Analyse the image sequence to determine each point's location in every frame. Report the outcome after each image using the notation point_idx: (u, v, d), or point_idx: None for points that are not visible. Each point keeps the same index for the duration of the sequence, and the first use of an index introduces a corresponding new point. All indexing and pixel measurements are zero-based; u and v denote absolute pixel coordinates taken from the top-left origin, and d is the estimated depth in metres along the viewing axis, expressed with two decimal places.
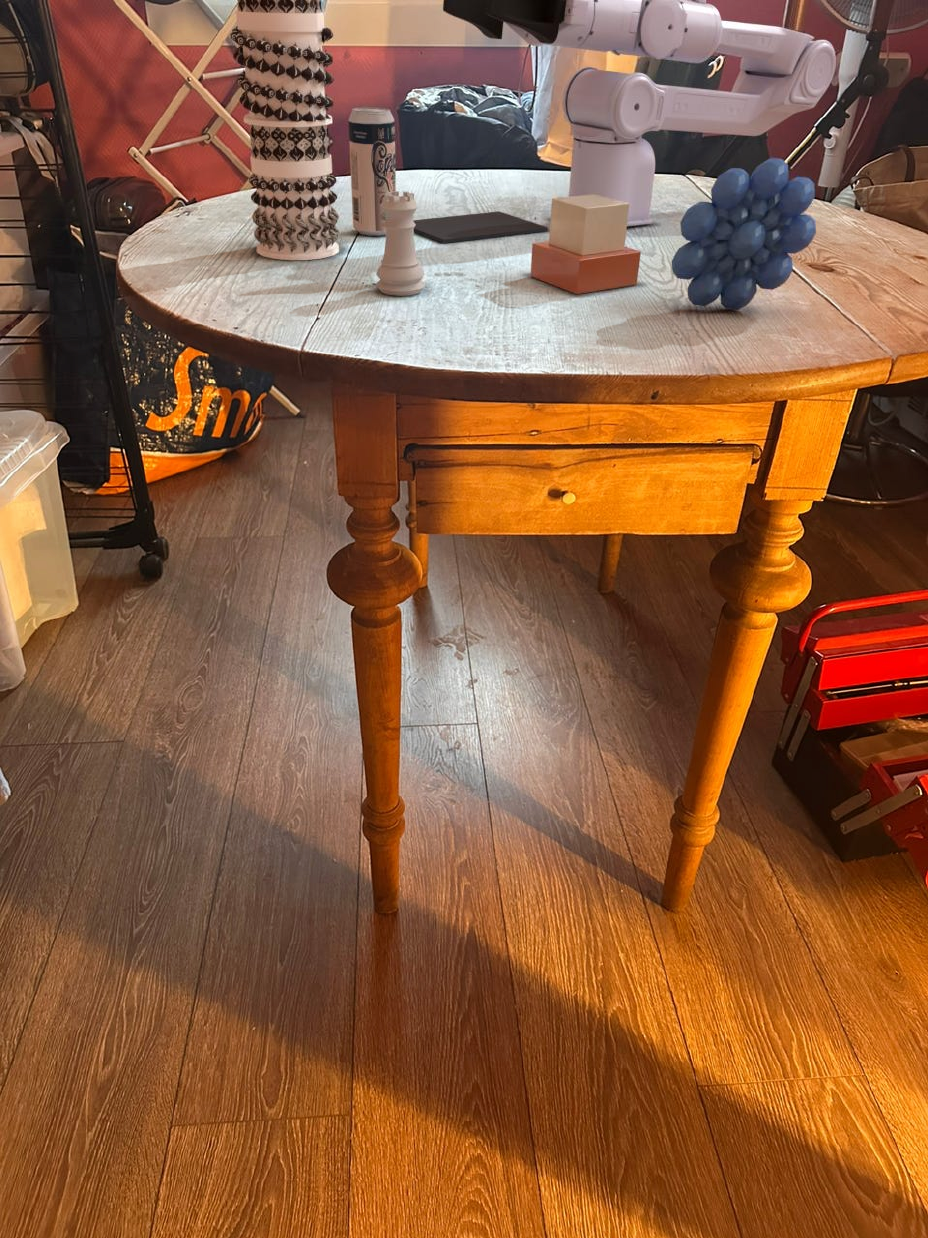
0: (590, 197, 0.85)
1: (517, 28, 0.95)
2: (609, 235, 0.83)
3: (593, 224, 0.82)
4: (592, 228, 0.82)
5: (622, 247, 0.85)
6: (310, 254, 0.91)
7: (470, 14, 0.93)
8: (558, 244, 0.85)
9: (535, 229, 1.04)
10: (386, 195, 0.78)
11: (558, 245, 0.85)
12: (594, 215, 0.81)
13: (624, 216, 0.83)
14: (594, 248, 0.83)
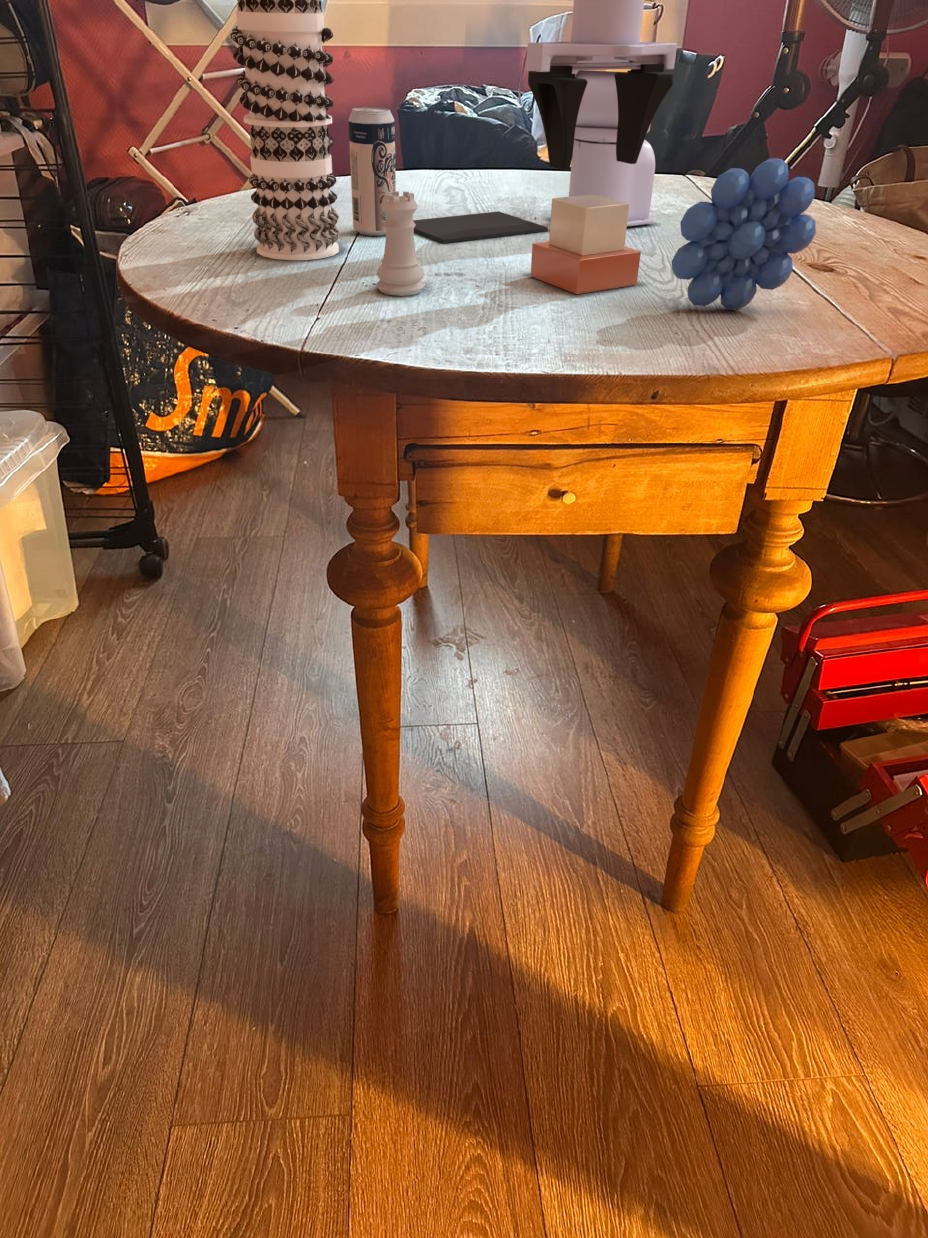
0: (590, 197, 0.85)
1: None
2: (609, 235, 0.83)
3: (593, 224, 0.82)
4: (592, 228, 0.82)
5: (622, 247, 0.85)
6: (310, 254, 0.91)
7: None
8: (558, 244, 0.85)
9: (535, 229, 1.04)
10: (386, 195, 0.78)
11: (558, 245, 0.85)
12: (594, 215, 0.81)
13: (624, 216, 0.83)
14: (594, 248, 0.83)
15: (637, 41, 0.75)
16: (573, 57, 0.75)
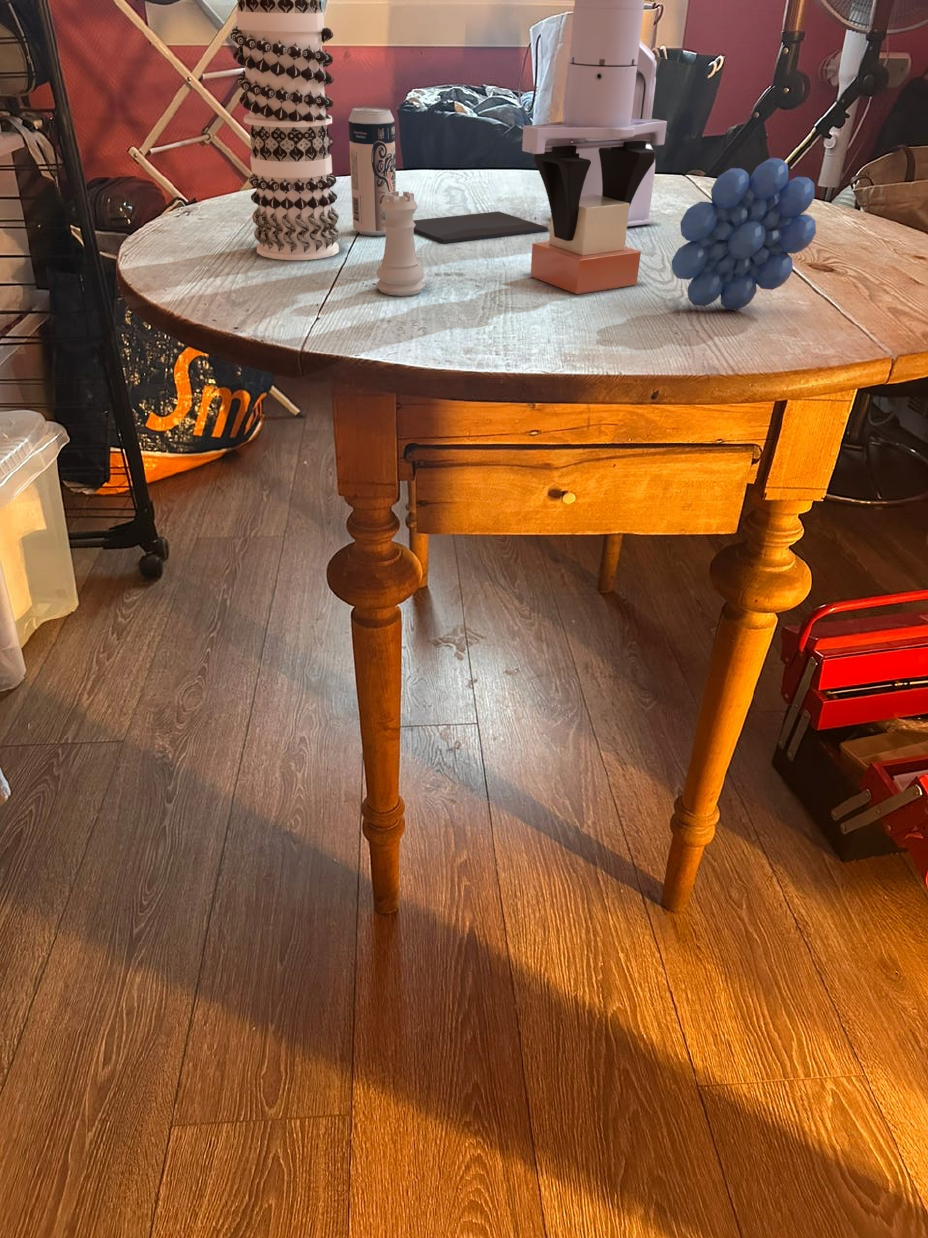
0: (590, 197, 0.85)
1: None
2: (609, 235, 0.83)
3: (593, 224, 0.82)
4: (593, 228, 0.82)
5: (622, 247, 0.85)
6: (310, 254, 0.91)
7: None
8: (558, 244, 0.85)
9: (535, 229, 1.04)
10: (386, 195, 0.78)
11: (558, 245, 0.85)
12: (594, 215, 0.81)
13: (624, 216, 0.83)
14: (594, 248, 0.83)
15: (628, 123, 0.79)
16: (567, 138, 0.79)
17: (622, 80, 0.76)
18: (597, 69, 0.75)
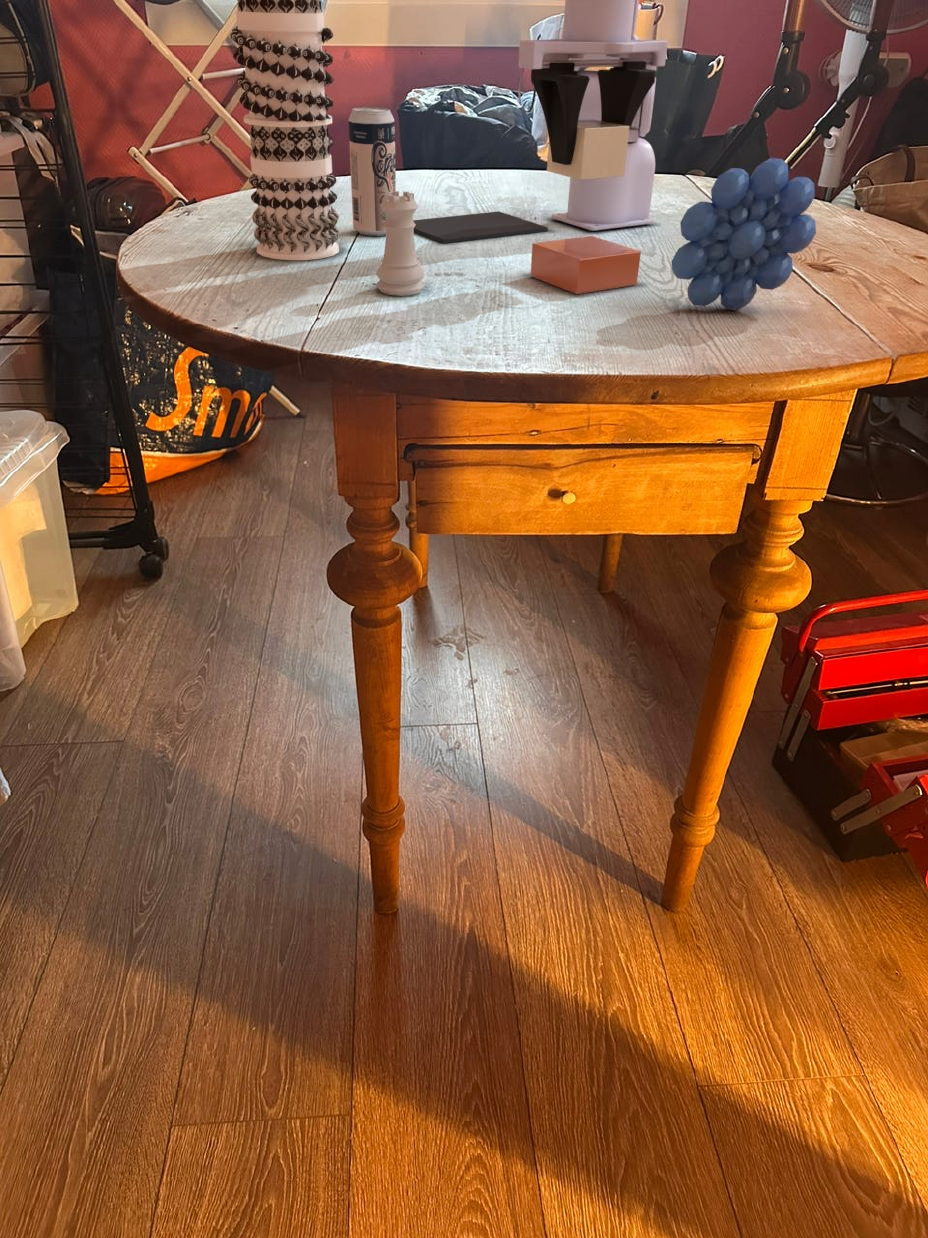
0: (589, 121, 0.82)
1: None
2: (608, 160, 0.81)
3: (592, 146, 0.79)
4: (591, 151, 0.80)
5: (622, 173, 0.82)
6: (310, 254, 0.91)
7: None
8: (556, 170, 0.83)
9: (535, 229, 1.04)
10: (386, 195, 0.78)
11: (556, 171, 0.83)
12: (593, 137, 0.79)
13: (624, 139, 0.81)
14: (593, 172, 0.81)
15: (628, 39, 0.76)
16: (565, 54, 0.76)
17: None
18: None
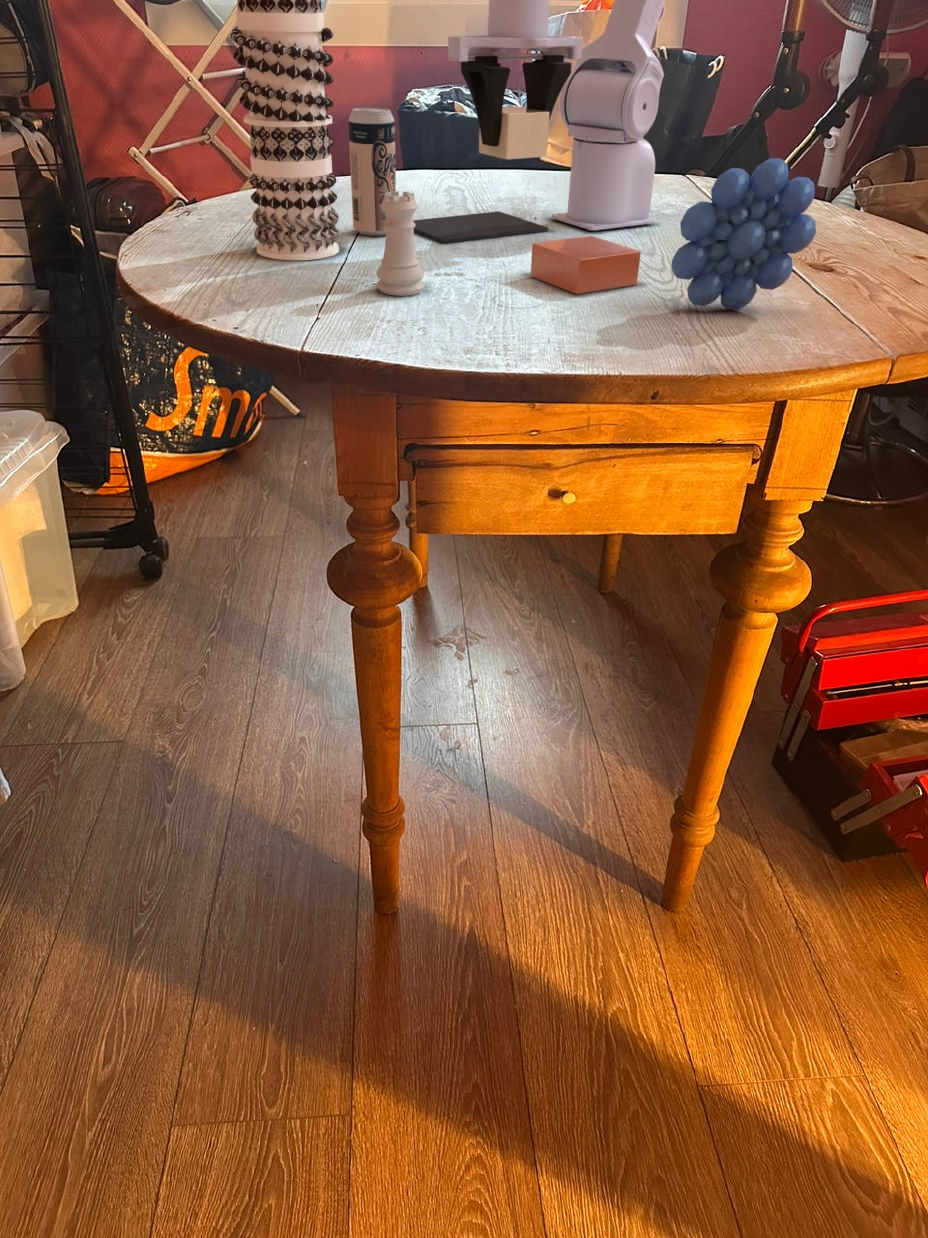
0: (515, 108, 0.93)
1: None
2: (531, 142, 0.92)
3: (516, 129, 0.90)
4: (515, 134, 0.90)
5: (544, 153, 0.93)
6: (310, 254, 0.91)
7: None
8: (486, 151, 0.93)
9: (535, 229, 1.04)
10: (386, 195, 0.78)
11: (486, 152, 0.93)
12: (516, 121, 0.90)
13: (545, 124, 0.92)
14: (518, 153, 0.91)
15: (544, 35, 0.87)
16: (489, 48, 0.87)
17: None
18: None
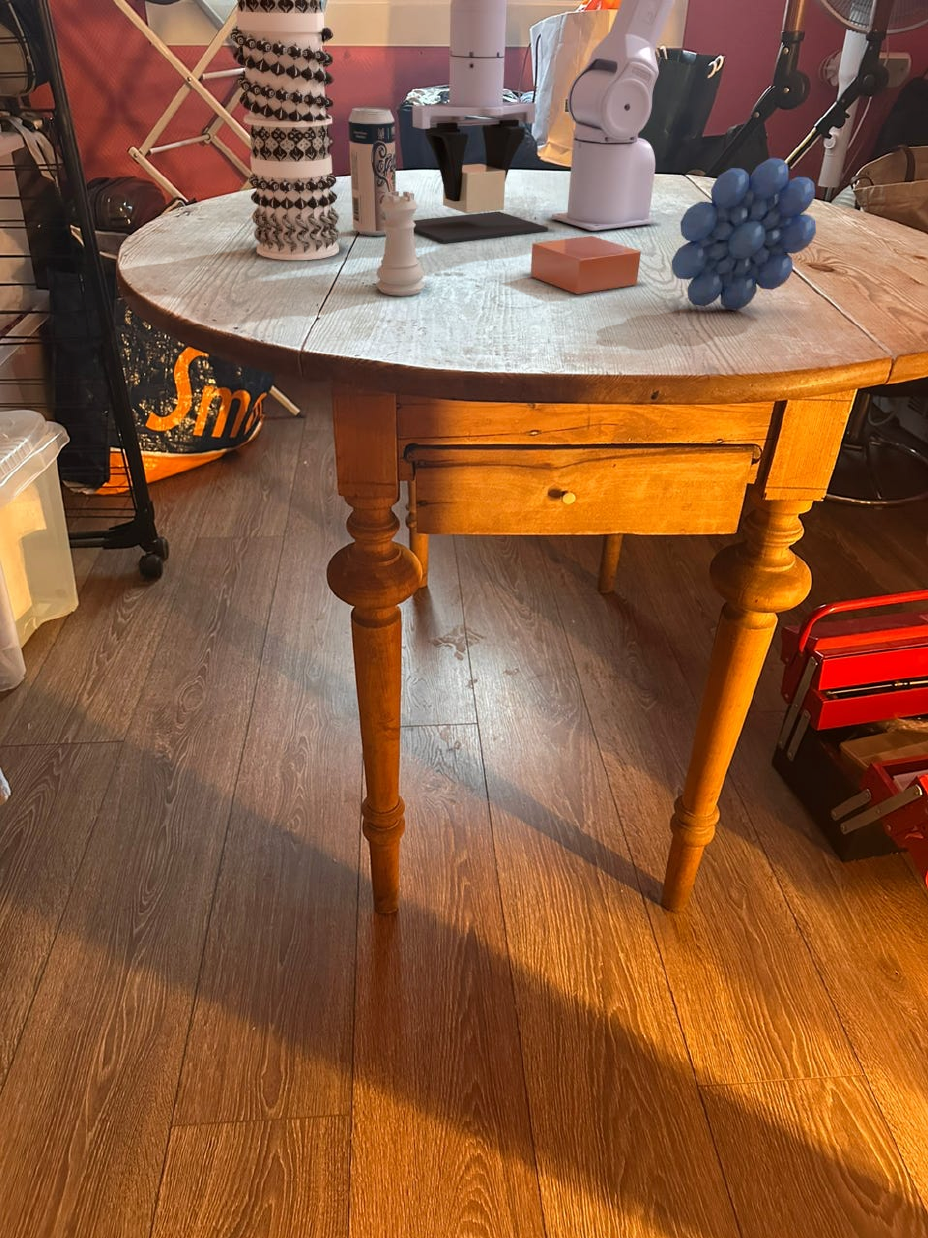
0: (475, 166, 1.03)
1: None
2: (489, 197, 1.02)
3: (474, 187, 1.00)
4: (474, 190, 1.00)
5: (502, 207, 1.03)
6: (310, 254, 0.91)
7: None
8: (449, 204, 1.03)
9: (535, 229, 1.04)
10: (386, 195, 0.78)
11: (449, 205, 1.03)
12: (475, 179, 1.00)
13: (501, 181, 1.02)
14: (477, 207, 1.01)
15: (499, 104, 0.97)
16: (449, 116, 0.97)
17: (490, 69, 0.94)
18: (469, 60, 0.94)
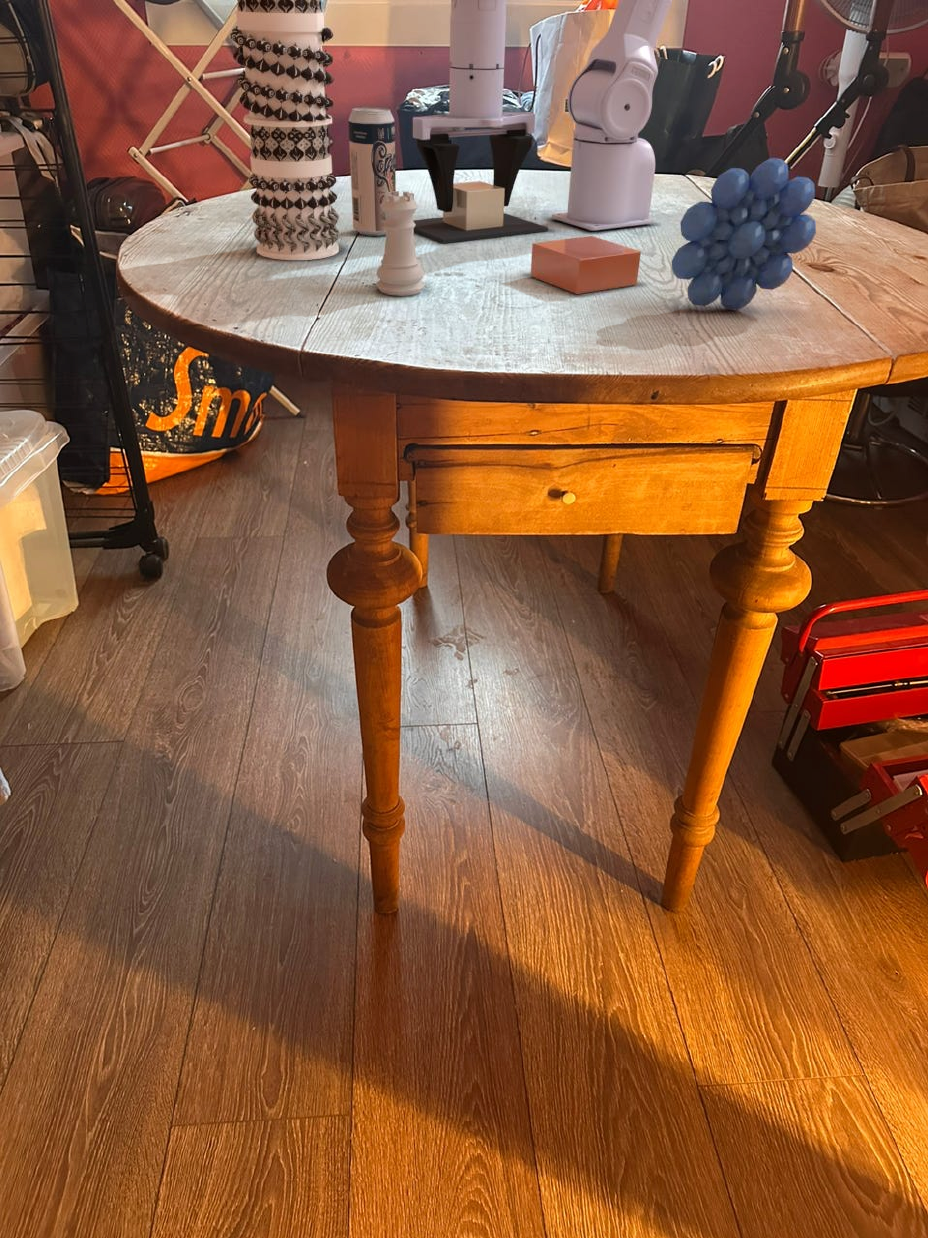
0: (475, 183, 1.04)
1: None
2: (489, 214, 1.03)
3: (474, 204, 1.01)
4: (474, 208, 1.01)
5: (501, 224, 1.04)
6: (310, 254, 0.91)
7: None
8: (449, 222, 1.04)
9: (535, 229, 1.04)
10: (386, 195, 0.78)
11: (449, 222, 1.04)
12: (474, 197, 1.01)
13: (501, 198, 1.03)
14: (476, 224, 1.03)
15: (499, 115, 0.98)
16: (449, 127, 0.98)
17: (490, 80, 0.95)
18: (469, 71, 0.94)
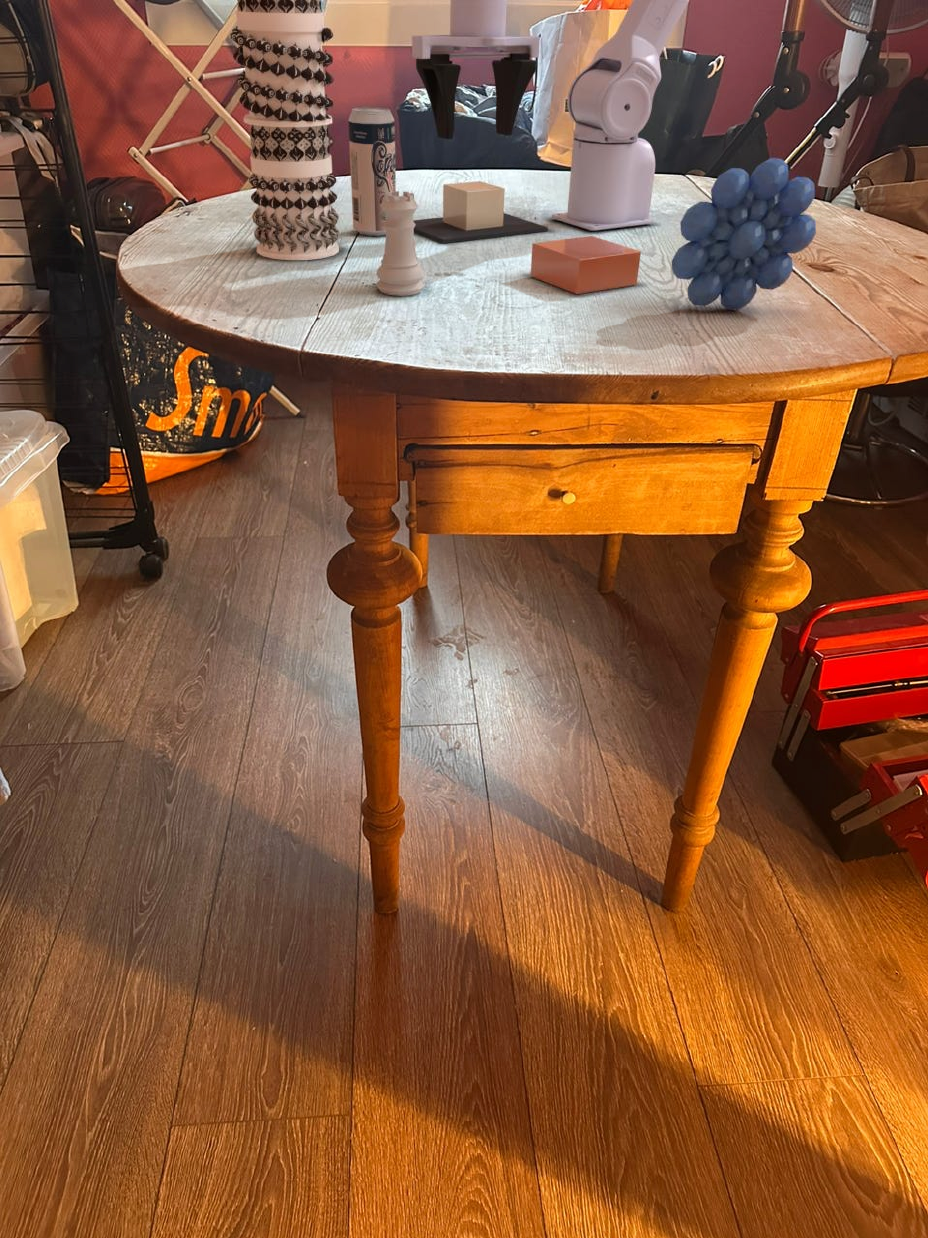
0: (475, 183, 1.04)
1: None
2: (489, 214, 1.03)
3: (474, 204, 1.01)
4: (474, 208, 1.01)
5: (501, 224, 1.04)
6: (310, 254, 0.91)
7: None
8: (449, 222, 1.04)
9: (535, 229, 1.04)
10: (386, 195, 0.78)
11: (449, 222, 1.04)
12: (474, 197, 1.01)
13: (501, 198, 1.03)
14: (476, 224, 1.03)
15: (502, 34, 0.93)
16: (450, 47, 0.94)
17: None
18: None
